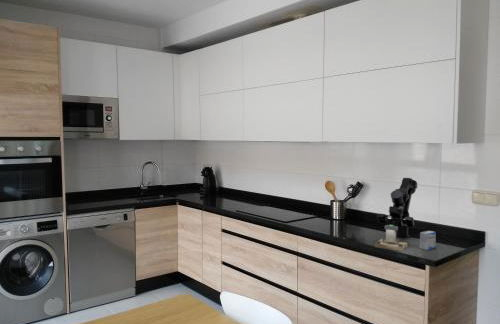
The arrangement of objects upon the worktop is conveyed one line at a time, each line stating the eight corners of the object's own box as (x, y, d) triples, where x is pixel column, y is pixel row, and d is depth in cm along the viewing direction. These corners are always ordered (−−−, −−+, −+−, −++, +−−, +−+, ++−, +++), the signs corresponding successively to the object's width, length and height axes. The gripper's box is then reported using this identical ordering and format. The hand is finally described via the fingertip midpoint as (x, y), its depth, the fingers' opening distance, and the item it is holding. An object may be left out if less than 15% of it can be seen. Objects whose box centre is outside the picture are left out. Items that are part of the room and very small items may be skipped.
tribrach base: (381, 242, 214) (381, 233, 214) (407, 246, 206) (408, 236, 206) (374, 246, 204) (375, 237, 204) (402, 251, 197) (402, 241, 196)
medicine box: (427, 250, 199) (428, 233, 198) (419, 248, 202) (419, 232, 202) (435, 248, 203) (436, 231, 203) (427, 246, 207) (427, 230, 207)
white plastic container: (386, 239, 207) (386, 223, 207) (397, 241, 204) (398, 225, 204) (383, 241, 203) (384, 225, 203) (395, 243, 200) (396, 226, 200)
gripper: (378, 199, 215) (371, 222, 206) (413, 202, 204) (408, 226, 196) (381, 211, 222) (375, 233, 213) (416, 214, 211) (411, 238, 203)
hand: (392, 233), depth 206 cm, fingers closed, pressing on white plastic container
